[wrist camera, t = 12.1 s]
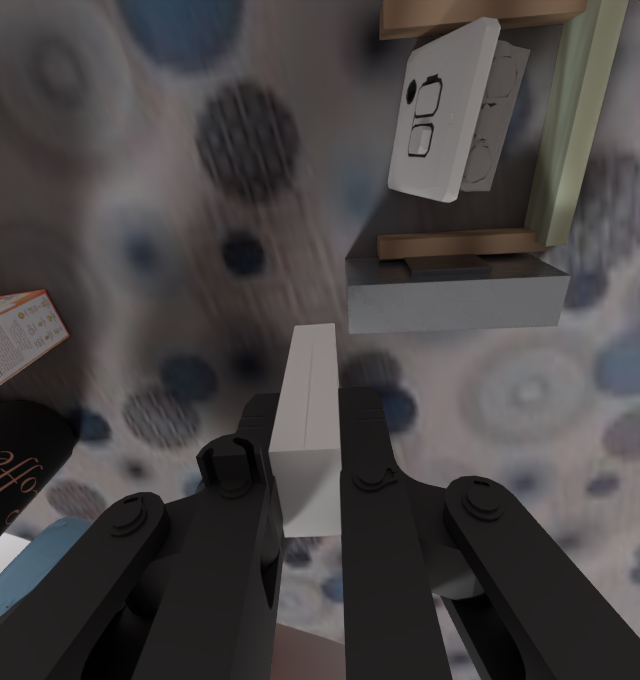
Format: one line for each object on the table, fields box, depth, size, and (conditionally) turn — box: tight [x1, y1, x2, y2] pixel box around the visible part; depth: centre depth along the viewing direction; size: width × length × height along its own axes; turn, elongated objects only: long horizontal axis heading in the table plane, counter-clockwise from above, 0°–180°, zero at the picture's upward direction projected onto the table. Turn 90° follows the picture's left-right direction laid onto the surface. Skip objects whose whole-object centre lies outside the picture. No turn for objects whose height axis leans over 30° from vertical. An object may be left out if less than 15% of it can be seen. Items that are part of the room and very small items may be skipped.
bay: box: [377, 0, 629, 260], centre depth 27 cm, size 15×17×4 cm
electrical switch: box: [388, 17, 531, 203], centre depth 25 cm, size 9×5×9 cm, turn 175°
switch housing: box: [345, 252, 571, 334], centre depth 30 cm, size 16×5×8 cm, turn 94°
